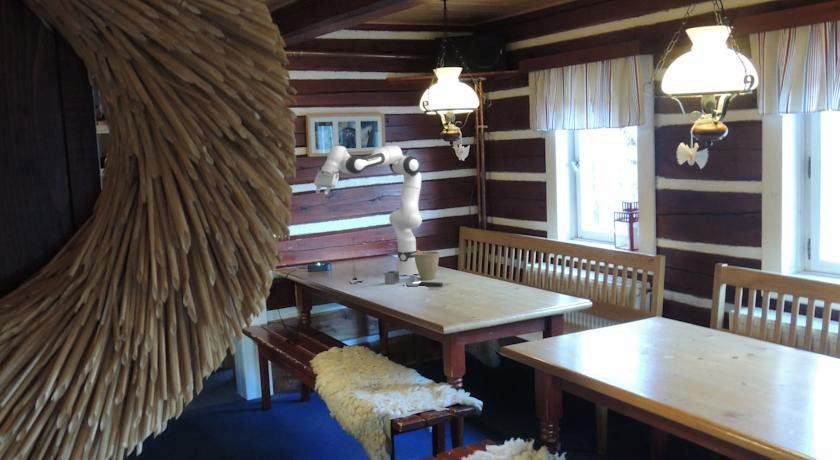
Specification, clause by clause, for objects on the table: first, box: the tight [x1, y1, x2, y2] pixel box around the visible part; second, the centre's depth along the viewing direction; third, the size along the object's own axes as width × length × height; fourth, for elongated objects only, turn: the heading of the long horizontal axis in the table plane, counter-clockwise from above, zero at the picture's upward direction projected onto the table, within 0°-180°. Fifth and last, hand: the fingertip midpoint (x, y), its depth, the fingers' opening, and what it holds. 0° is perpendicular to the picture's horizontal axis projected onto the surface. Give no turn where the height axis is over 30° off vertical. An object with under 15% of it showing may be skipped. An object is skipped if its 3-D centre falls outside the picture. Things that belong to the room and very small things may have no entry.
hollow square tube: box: [384, 270, 400, 285], centre depth 450 cm, size 6×6×7 cm
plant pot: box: [414, 250, 440, 281], centre depth 457 cm, size 15×15×16 cm
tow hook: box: [352, 260, 358, 280], centre depth 460 cm, size 8×13×9 cm
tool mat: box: [427, 282, 453, 291], centre depth 437 cm, size 20×26×1 cm
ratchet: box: [405, 275, 444, 287], centre depth 436 cm, size 22×9×6 cm, turn 63°
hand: (321, 193), depth 443 cm, fingers open, 8 cm apart
